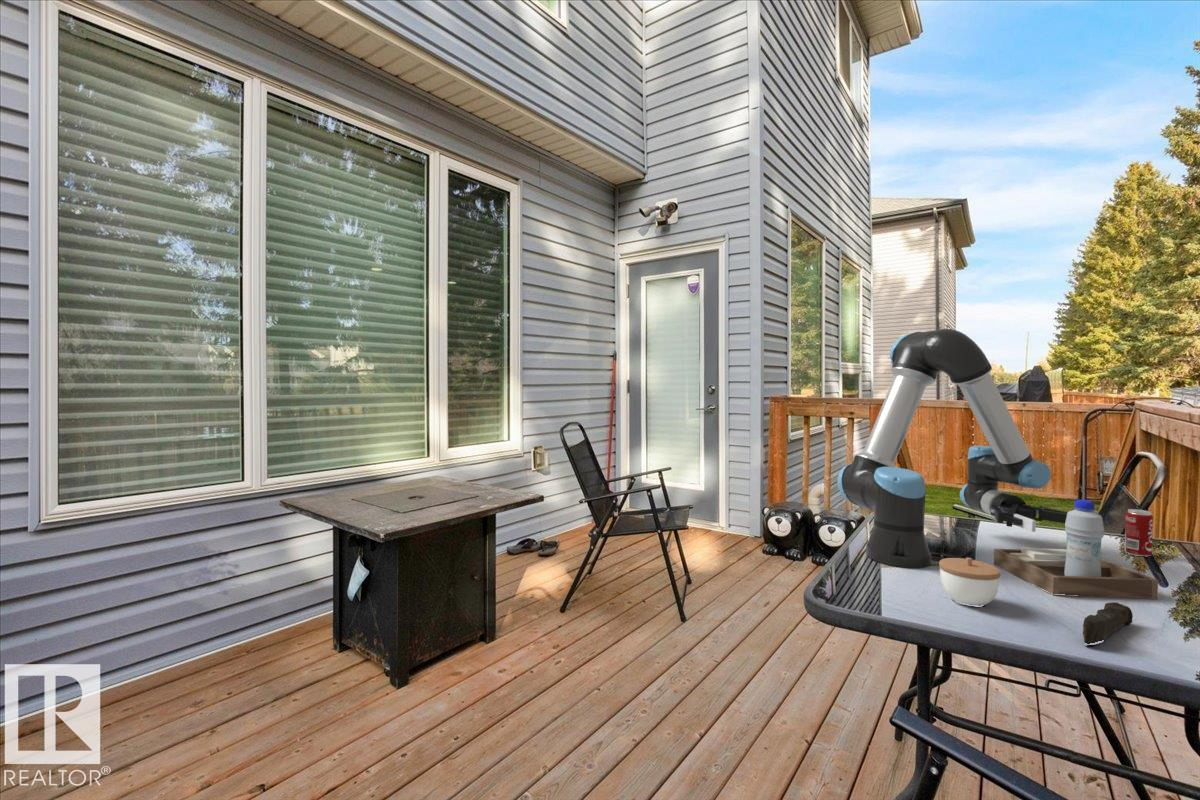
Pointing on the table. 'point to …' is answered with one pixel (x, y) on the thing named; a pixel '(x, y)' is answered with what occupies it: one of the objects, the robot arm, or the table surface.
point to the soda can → (1138, 532)
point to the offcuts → (1042, 556)
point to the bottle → (1083, 540)
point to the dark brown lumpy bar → (1106, 622)
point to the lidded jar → (969, 580)
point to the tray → (1079, 578)
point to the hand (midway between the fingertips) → (1063, 526)
